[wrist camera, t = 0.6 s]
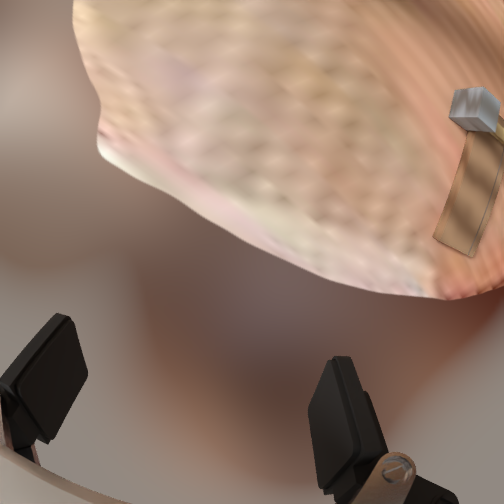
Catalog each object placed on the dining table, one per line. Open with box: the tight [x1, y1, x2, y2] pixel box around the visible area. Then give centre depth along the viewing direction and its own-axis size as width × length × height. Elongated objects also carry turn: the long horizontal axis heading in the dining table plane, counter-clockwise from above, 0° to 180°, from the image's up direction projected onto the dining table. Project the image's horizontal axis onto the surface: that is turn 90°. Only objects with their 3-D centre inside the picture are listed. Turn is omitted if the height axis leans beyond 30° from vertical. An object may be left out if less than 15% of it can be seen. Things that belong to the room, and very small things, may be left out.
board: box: [433, 115, 504, 258], centre depth 33 cm, size 24×9×2 cm, turn 163°
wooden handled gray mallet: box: [449, 87, 504, 145], centre depth 27 cm, size 5×13×7 cm, turn 73°
